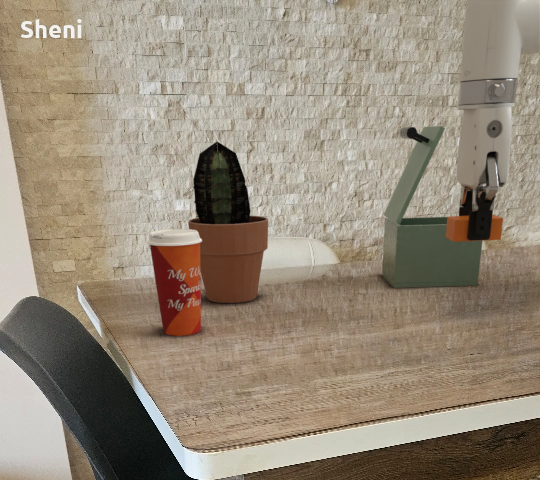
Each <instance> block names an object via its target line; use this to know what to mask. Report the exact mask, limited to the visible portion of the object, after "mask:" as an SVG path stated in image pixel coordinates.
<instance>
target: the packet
mask: <svg viewBox="0 0 540 480" xmlns="http://www.w3.org/2000/svg"><path fill="white" fill-rule="evenodd" d="M446 217H447V228H446V238H448V239H450V240H451V241H453V242H461V241H470V240H468V239H467V233H468V223H469V216H459V215H452V216H451V215H450V216H446ZM503 223H504V217H501V216H498V215H496V214H492V223H491V232H490V238H489V239H488V240H487V241H501V239H502V231H503ZM471 241H482V242H483V241H484V240H471Z"/></svg>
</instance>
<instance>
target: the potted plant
mask: <svg viewBox="0 0 540 480" xmlns="http://www.w3.org/2000/svg"><path fill="white" fill-rule="evenodd" d="M192 182H193V186H192V189H193V193H194V194H193V195H194V204H195V205H194V206H195V213H196V215H197V217H196V218H191V219H189V220H188V222H187V223H188V229H191V230H197V231H198V233H199V237H200V238H201V239H202V242H200V273H201V280H202V284H203V287H204V291H205V294H206V299H207V300H209V301H210V302H213V303H219V304H239V303H240V304H241V303H246V302H251V301H253V300H255V299H256V298H257V297H258V290H259V284H260V279H261V278H260V277H261V271H262V266H263V265H262V264H263V259H264V253H265V251H266V250H267V249H269V247H268V245H269V218H268V217H266V216H259V215H251V212H252V211H251V205H250V198H249V191H248V187H247V185H246V182H247V181H246V178H245V175H244V172H243V169H242V166H241V164H240V161H239V158H238V155H237V153H236V152H235V151H233V150H232V149H230V148H228V147H227V146H225V145H224V144H222V143H220V142H219V141H215V142H214V143H212V144H211V145H210V146H208V147H206V148H205V149H204V150H203V151H201V152H200V153H199V154H198V159H197V163H196V167H195V171H194V175H193V181H192Z"/></svg>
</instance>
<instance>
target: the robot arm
mask: <svg viewBox="0 0 540 480" xmlns="http://www.w3.org/2000/svg"><path fill="white" fill-rule="evenodd" d="M463 26H464V27H463V39H462V41H463V42H462V49H461V50H462V52H461V63H460V74H459V75H460V77H459V86H458V87H459V88H458V98H457V99H458V100H457V111H463V112H462V118H461V123H460V132H459V141H458V147H457V148H458V150H457V159H456V181H457V182H458V183H459V184H460V187H461V188H460V196H459V207H458V216H469V223H468V233H467V239H468V240H470V241H471V240H483V241H489V240H488V239H489V238H490V232H491V223H492V215H494V214H493V212H494V209H495V199H496V196H497V195H496V194H497V193H498V191H499V188H503V187H505V186H506V185H507V183H508V181H509V173H510V161H511V146H512V132H513V129H512V127H513V118H512V117H513V115H512V114H513V113H512V112H513V111H512V108H515V104H516V97H517V87H518V80H519V79H518V78H519V73H520V72H519V70H520V63H521V55H531V54H533V55H534V54H539V53H540V0H466V5H465V14H464V25H463ZM484 184H485V185H484Z"/></svg>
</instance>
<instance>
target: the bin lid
mask: <svg viewBox="0 0 540 480" xmlns="http://www.w3.org/2000/svg"><path fill="white" fill-rule="evenodd" d="M445 129H446V127H444V126H441V125H437V126H436V125H435V126H423V127H422V130H421V131H420V133H418V130H417V128H416V127H414V126H406V127H405V126H404V127H402V128H401V129H400V131H399V136H400V138H402V139H404V140H406V139H407V140H408V139H409V140H414V141H416V143H415V145H414V147H413V149H412V151H411V154H410V156H409V158H408V160H407V163H406V164H405V167H404V169H403V171H402V173H401V176H400V177H399V180H398V182H397V184H396V186H395V189H394V191H393V193H392V195H391V197H390V200H389V202H388V204H387V205H386V209H385V210H384V212H383V216H384V217H385V218H389V219H391V220H392V221H394V222H396V223H398V224H400V223H401V220H402V218H404V216H405V214H406V211H407V210H408V209H409V205H410V203H411V201H412V199H413V197H414V194H415V193H416V190H417V189H418V186H419V185H420V182H421V180H422V178H423V176H424V174H425V172H426V169H428V168H427V167H428V165H429V163H430V161H431V159H432V157H433V155H434V152H435V150H436V148H437V147H438V145H439V142H440V139H441V138H442V136H443V134H444V131H445Z"/></svg>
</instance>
